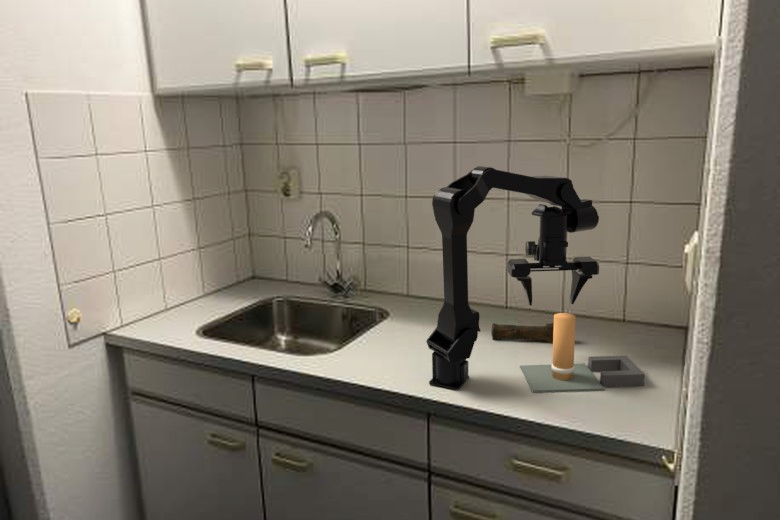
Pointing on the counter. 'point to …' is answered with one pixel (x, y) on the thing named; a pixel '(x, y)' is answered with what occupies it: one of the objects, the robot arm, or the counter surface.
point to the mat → (544, 382)
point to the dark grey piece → (616, 371)
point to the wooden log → (523, 332)
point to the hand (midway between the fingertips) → (551, 304)
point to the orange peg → (563, 346)
